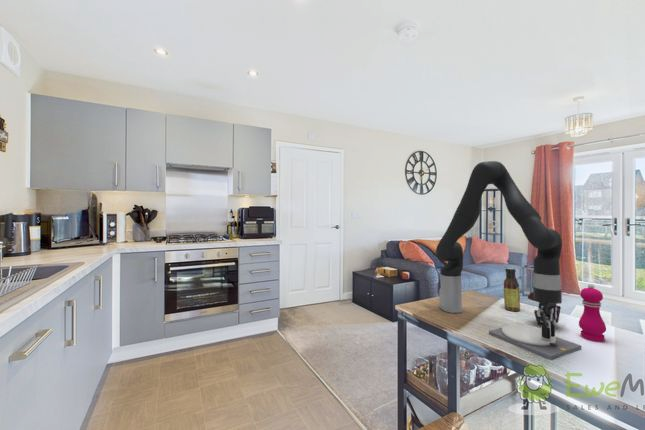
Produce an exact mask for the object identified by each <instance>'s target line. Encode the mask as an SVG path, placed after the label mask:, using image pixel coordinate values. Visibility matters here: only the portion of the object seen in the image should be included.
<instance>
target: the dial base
mask: <svg viewBox="0 0 645 430" xmlns="http://www.w3.org/2000/svg"><path fill="white" fill-rule="evenodd" d="M488 334H489V335H490V336H493V337H494V338H498V339H500V340H502V341H504V342H507V343H509V344H512V345H513V346H517V347H519V348H521V349H524V350H526V351H528V352H529V353H530V352H531V353H532V354H535V355H538V356H541V357H542V358H544V359H547V360H549V361H552V360H556V359H558V358H561V357H563V356H566V355H569V354H572V353H575V352H577V351H580V350H582V345H581V344H578V343H575V342H572V341H570V340H566V339H563V338H560V337H557V336H555V337H556V343H555V344H557V345H558V347H554V346H552V345H550V346H536V345H530V344H525V343H521V342H518V341H515V340H513V339H510V338H508V337H507V336H505V335H504V334H503V333H502V327H500V328H495V329H492V330H488Z"/></svg>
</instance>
